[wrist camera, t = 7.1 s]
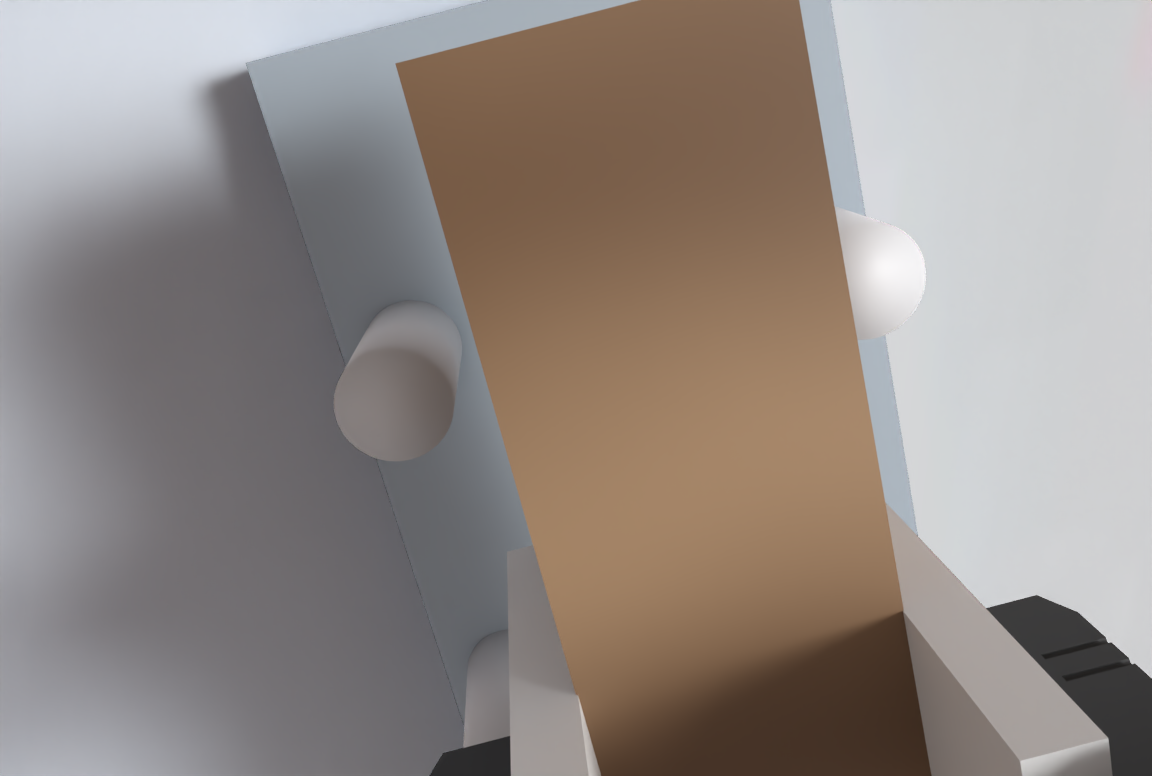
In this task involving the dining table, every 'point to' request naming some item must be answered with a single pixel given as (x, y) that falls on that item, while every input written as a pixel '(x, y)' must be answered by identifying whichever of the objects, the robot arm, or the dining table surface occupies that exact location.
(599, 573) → the wooden toy mallet
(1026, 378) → the dining table surface
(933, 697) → the robot arm
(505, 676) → the rack
